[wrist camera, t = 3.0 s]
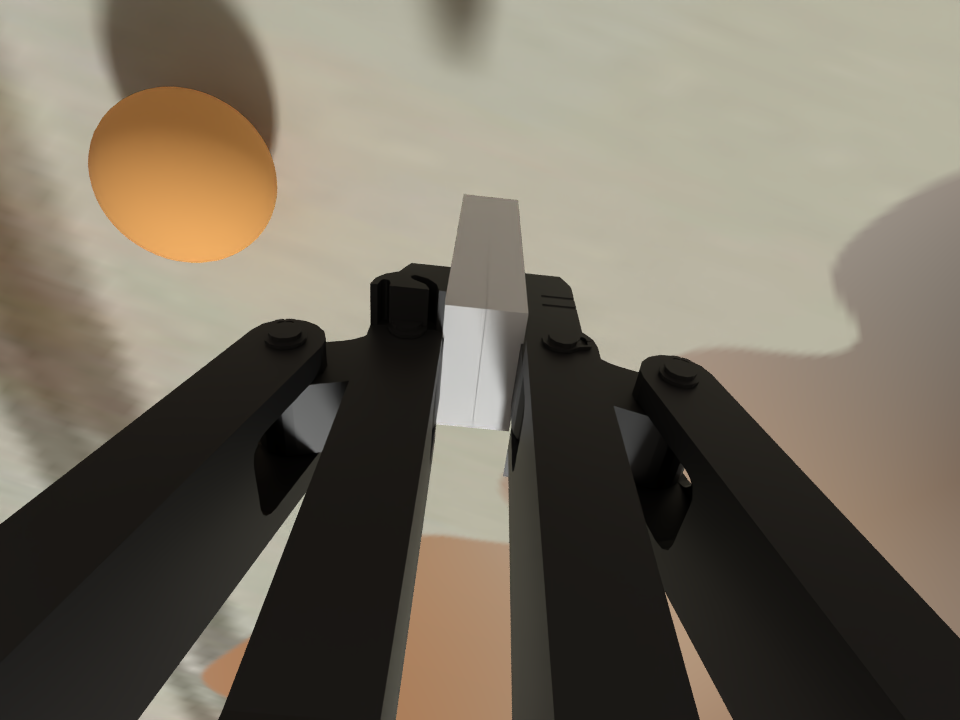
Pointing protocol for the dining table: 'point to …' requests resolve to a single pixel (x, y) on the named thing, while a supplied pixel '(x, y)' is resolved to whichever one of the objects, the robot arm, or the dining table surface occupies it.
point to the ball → (182, 174)
